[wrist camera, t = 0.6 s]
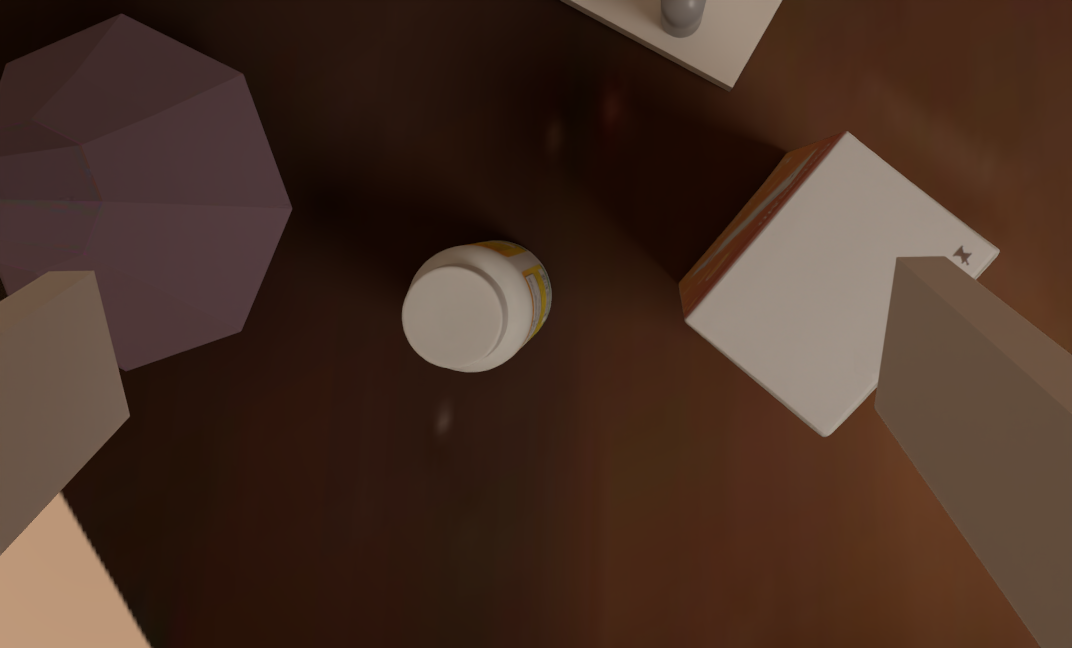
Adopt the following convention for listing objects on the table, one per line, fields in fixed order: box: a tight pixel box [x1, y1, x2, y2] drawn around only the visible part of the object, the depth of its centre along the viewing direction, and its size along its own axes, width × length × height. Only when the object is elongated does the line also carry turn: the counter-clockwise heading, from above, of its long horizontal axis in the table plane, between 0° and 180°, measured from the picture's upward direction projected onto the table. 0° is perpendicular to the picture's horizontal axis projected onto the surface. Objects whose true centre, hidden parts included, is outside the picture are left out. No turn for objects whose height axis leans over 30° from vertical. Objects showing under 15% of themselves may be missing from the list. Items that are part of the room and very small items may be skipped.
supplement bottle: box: [402, 241, 551, 372], centre depth 37 cm, size 5×5×10 cm
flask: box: [0, 14, 292, 371], centre depth 34 cm, size 16×16×20 cm
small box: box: [679, 131, 1000, 437], centre depth 34 cm, size 8×6×13 cm
